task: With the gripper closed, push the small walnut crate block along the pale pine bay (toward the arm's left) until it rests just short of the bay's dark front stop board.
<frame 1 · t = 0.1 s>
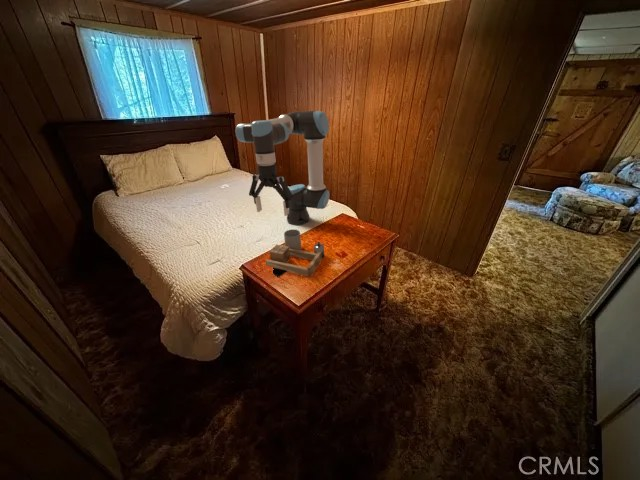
hand: (272, 212, 111), 28 cm above the table, fingers open, 13 cm apart
crate: (280, 260, 128), on the table
smartphone: (273, 268, 123), on the table
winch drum: (319, 256, 130), on the table
bay: (293, 263, 126), on the table
cup: (293, 249, 137), on the table
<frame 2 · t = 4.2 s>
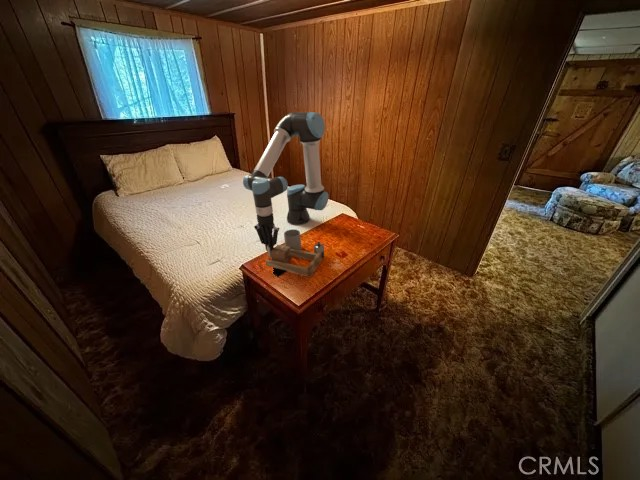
hand: (270, 255, 129), 2 cm above the table, fingers closed
crate: (281, 260, 128), on the table, touching gripper
everything else where it was.
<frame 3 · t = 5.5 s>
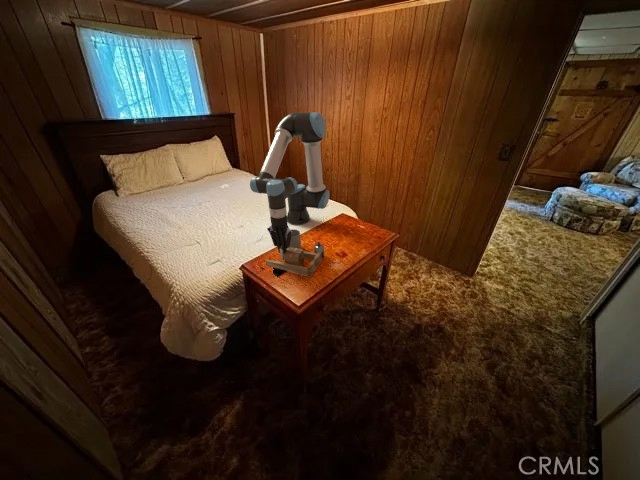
hand: (283, 258, 126), 2 cm above the table, fingers closed
crate: (294, 263, 125), on the table, touching gripper
everything else where it was.
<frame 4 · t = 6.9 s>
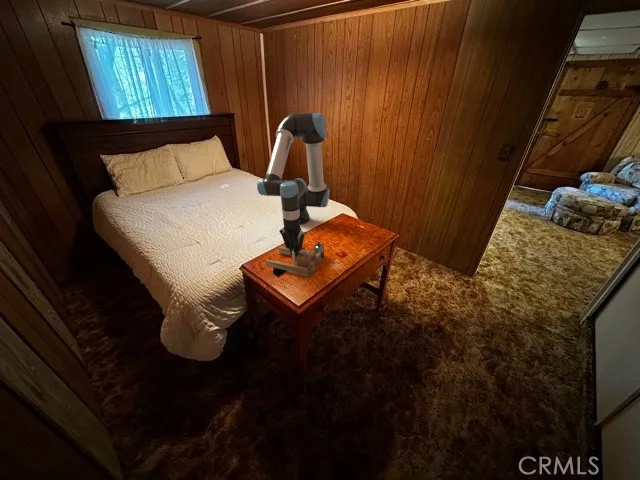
hand: (295, 261, 124), 2 cm above the table, fingers closed
crate: (306, 266, 123), on the table, touching bay, gripper
everything else where it was.
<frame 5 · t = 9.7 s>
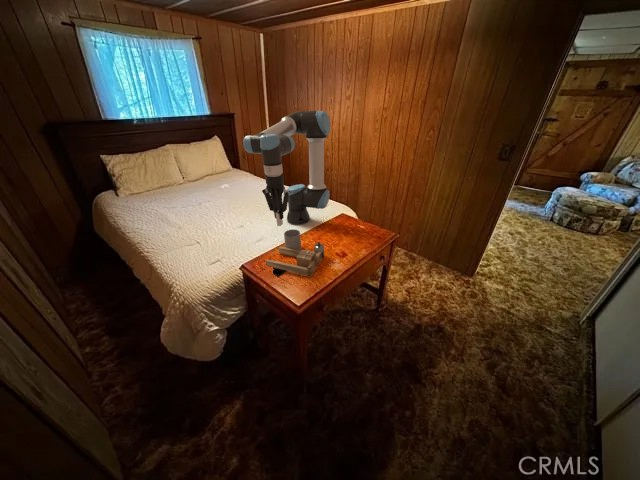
hand: (280, 224, 117), 20 cm above the table, fingers closed
crate: (306, 266, 123), on the table
everything else where it was.
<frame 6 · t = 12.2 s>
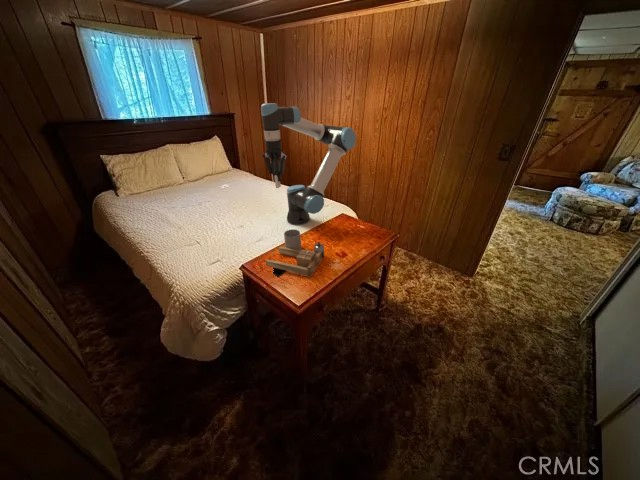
hand: (278, 187, 134), 30 cm above the table, fingers closed
nothing on the table moved.
at the end: crate inside the target area (0.1 cm from its centre), on the table; crate tilted 0° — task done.
